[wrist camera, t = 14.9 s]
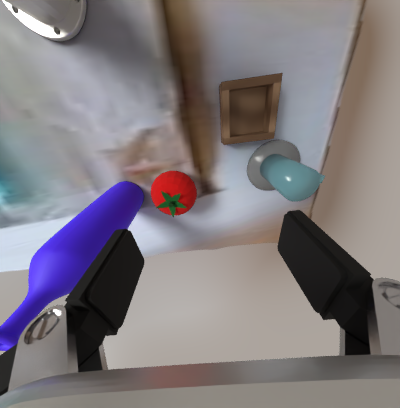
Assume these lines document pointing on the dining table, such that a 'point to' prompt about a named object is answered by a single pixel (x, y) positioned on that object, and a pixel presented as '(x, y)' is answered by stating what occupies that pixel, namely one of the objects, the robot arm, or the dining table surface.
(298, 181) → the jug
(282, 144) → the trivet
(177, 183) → the tomato
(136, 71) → the dining table surface
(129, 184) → the bottle
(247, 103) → the cradle
